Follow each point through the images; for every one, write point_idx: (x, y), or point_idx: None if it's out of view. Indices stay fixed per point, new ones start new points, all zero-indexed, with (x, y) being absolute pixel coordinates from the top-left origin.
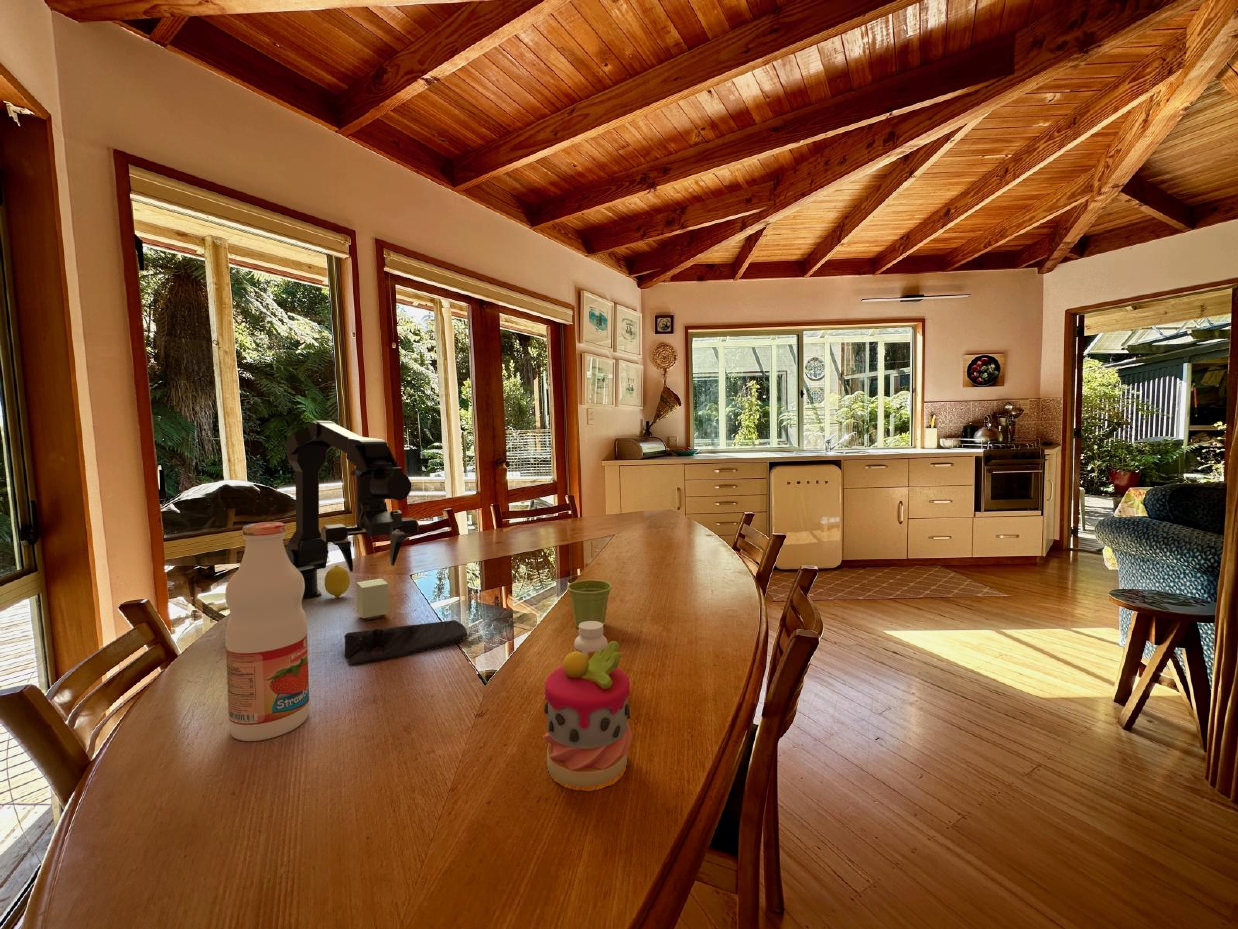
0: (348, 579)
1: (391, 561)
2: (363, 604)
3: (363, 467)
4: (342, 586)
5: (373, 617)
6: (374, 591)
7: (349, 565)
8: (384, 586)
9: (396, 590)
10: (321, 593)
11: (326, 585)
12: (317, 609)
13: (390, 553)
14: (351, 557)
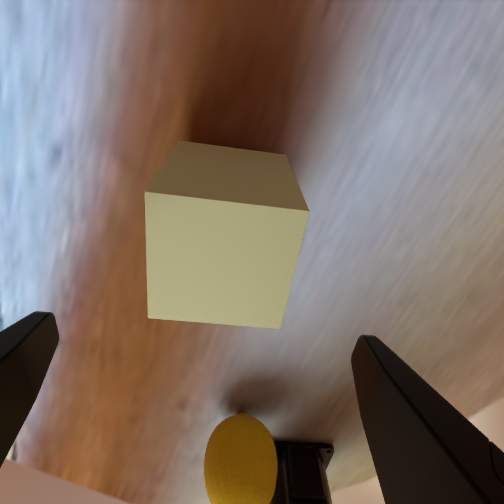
0: (214, 456)
1: (39, 352)
2: (290, 173)
3: None
4: (237, 432)
5: None
6: (235, 188)
7: (412, 372)
8: (172, 188)
9: (78, 384)
10: None
11: (275, 452)
12: (321, 364)
13: (5, 444)
14: (440, 437)
